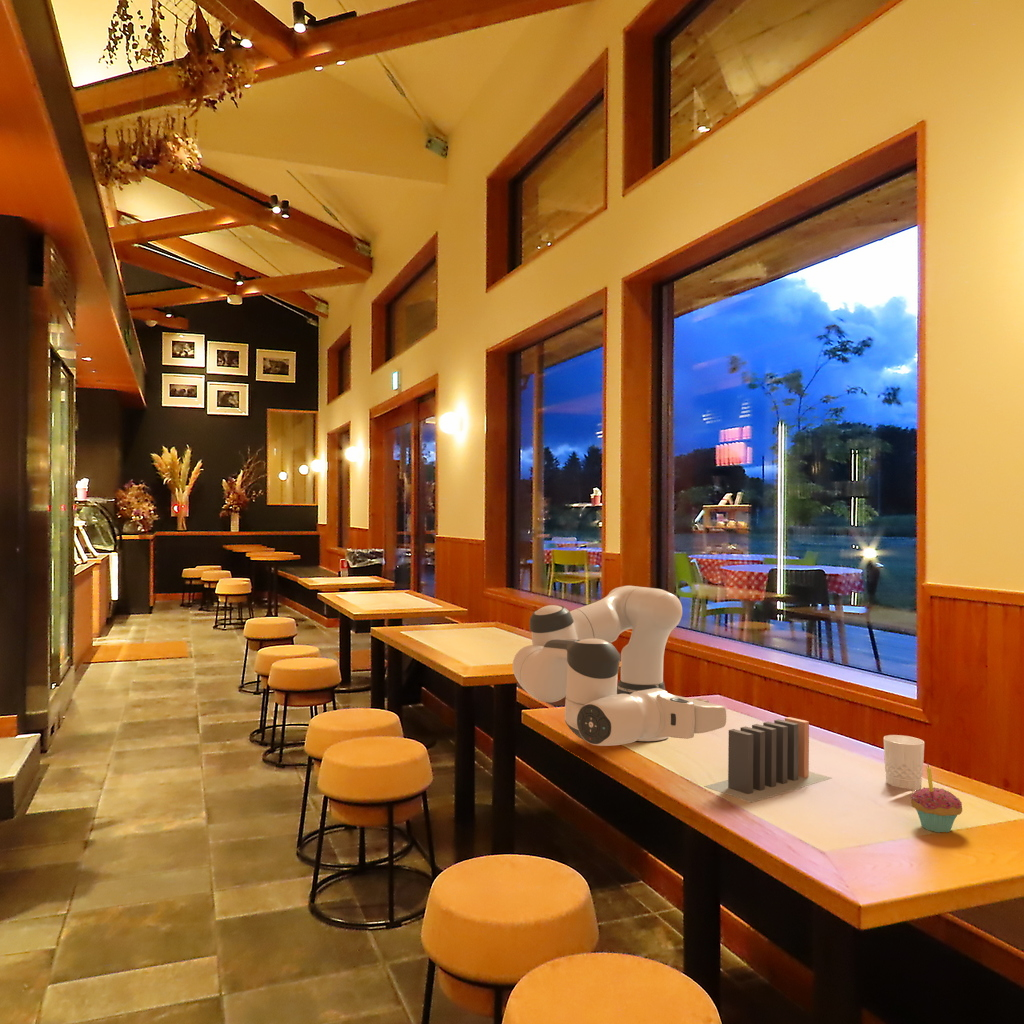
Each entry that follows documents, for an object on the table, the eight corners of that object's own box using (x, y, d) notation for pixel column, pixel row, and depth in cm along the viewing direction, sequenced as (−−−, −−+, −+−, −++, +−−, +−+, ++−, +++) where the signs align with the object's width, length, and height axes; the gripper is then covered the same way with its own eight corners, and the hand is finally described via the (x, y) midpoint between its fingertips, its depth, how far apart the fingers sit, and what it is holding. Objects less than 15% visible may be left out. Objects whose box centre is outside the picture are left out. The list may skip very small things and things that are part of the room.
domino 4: (762, 778, 177) (763, 722, 177) (767, 776, 178) (767, 721, 178) (782, 784, 173) (783, 727, 173) (787, 782, 174) (787, 726, 174)
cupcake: (939, 839, 144) (939, 771, 145) (899, 823, 152) (899, 758, 152) (972, 832, 148) (973, 766, 148) (932, 817, 156) (932, 754, 156)
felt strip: (703, 789, 170) (704, 786, 170) (784, 767, 187) (784, 764, 187) (751, 805, 161) (751, 802, 161) (832, 780, 177) (832, 777, 177)
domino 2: (740, 784, 172) (740, 727, 172) (744, 783, 173) (745, 726, 173) (759, 790, 168) (760, 732, 168) (764, 789, 169) (765, 731, 169)
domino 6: (784, 772, 181) (784, 717, 181) (788, 770, 182) (789, 717, 182) (804, 777, 177) (804, 722, 177) (808, 776, 178) (809, 721, 178)
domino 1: (728, 787, 170) (728, 729, 170) (733, 786, 171) (733, 728, 171) (748, 794, 166) (748, 735, 166) (752, 792, 167) (753, 733, 167)
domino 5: (773, 775, 179) (774, 720, 179) (778, 773, 180) (778, 719, 180) (793, 780, 175) (794, 724, 175) (798, 779, 176) (798, 723, 176)
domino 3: (751, 781, 174) (752, 725, 174) (756, 779, 175) (756, 724, 175) (771, 787, 170) (771, 729, 170) (776, 786, 171) (776, 728, 171)
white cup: (929, 793, 169) (929, 745, 170) (888, 790, 171) (888, 743, 171) (918, 782, 177) (918, 736, 177) (879, 779, 179) (879, 733, 179)
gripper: (615, 719, 161) (664, 709, 169) (695, 741, 144) (745, 729, 153) (615, 686, 161) (664, 679, 169) (695, 705, 144) (745, 696, 153)
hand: (703, 703), depth 161 cm, fingers closed
